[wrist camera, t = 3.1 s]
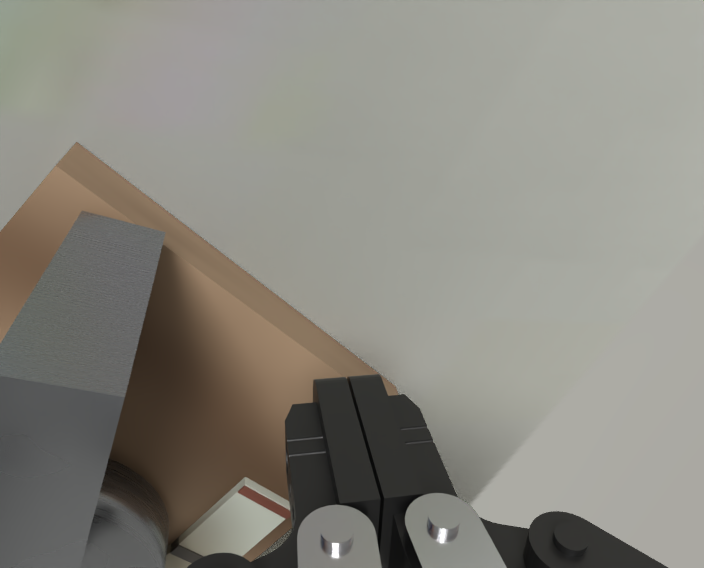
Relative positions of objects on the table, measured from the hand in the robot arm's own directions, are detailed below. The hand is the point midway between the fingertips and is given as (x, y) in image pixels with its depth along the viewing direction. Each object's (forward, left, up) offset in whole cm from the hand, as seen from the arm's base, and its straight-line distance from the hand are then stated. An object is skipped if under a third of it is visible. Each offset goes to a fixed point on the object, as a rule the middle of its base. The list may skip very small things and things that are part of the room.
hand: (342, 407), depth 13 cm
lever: (-8, +3, -3) cm, 8 cm away
